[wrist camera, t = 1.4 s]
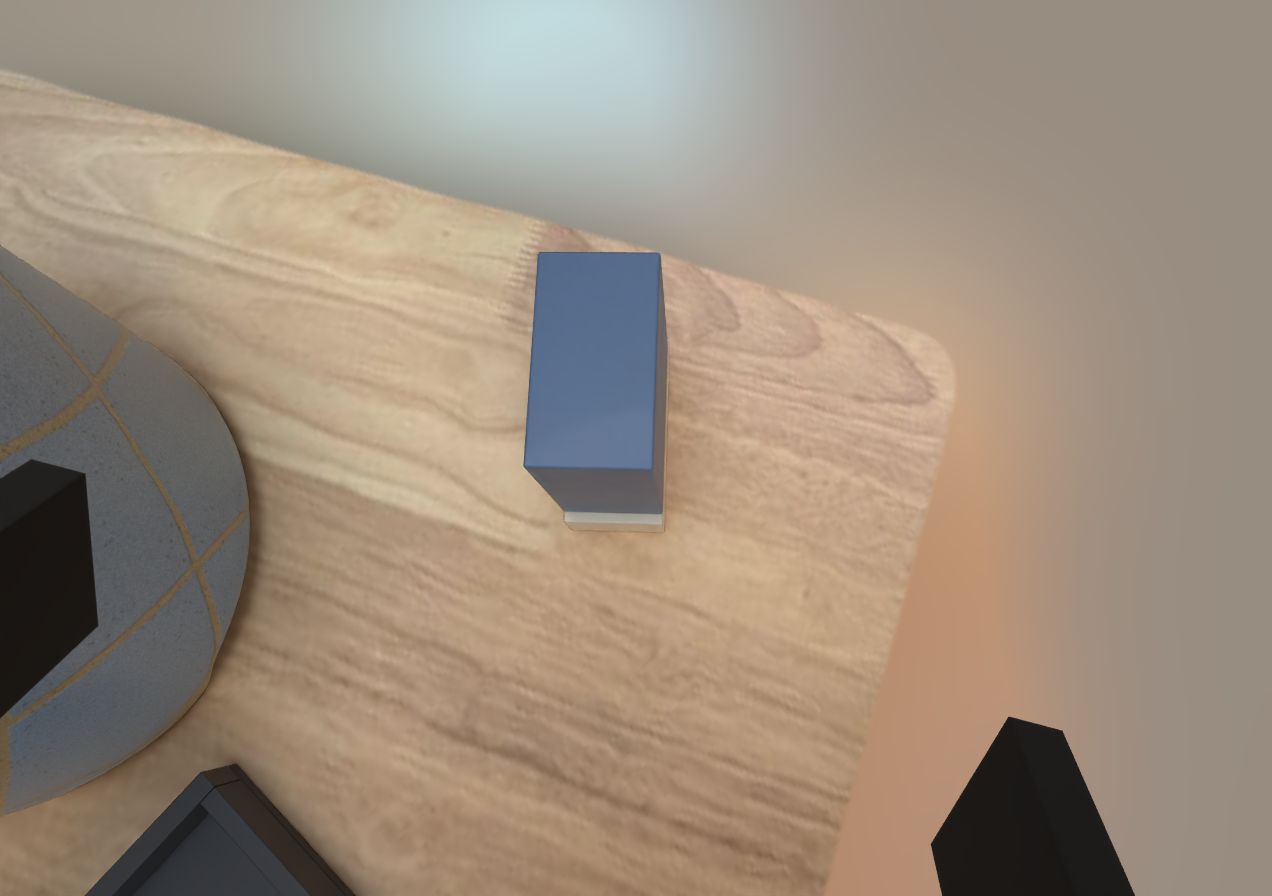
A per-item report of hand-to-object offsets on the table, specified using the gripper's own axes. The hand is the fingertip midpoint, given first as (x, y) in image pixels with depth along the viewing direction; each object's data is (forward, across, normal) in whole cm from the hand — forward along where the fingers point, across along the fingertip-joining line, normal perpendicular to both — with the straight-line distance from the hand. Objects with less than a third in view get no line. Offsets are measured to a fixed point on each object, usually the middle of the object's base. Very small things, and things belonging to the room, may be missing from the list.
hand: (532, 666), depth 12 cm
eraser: (+24, 0, -9) cm, 25 cm away
